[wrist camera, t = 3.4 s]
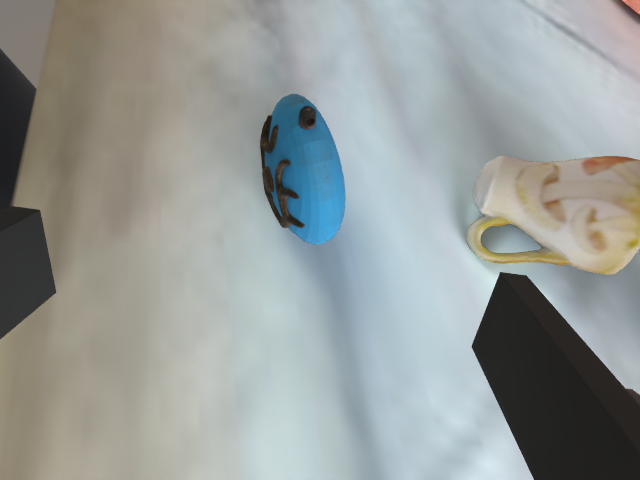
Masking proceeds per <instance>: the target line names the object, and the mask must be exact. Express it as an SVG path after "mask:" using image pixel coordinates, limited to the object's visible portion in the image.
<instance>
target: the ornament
mask: <svg viewBox="0 0 640 480" xmlns="http://www.w3.org/2000/svg"><path fill="white" fill-rule="evenodd" d="M260 149H261V158H262V169H263V173H262V176H263V183H264V190H265V194H266V196H267V199H268V201H269V203H270V206H271V208H272V210H273V212H274V214H275V216H276V218H277V220H278V221H279V223H280V225H281V226H282V227H283V228H289V229H290V230H291V231H292V232H293V233H294V234H296V235H297V236H298V237H300V238H301V239H302V240H304V241H306V242H308V243H311V244H323V243H325V242H326V241H328V240H330V239H331V238H333V237H334V235H335V234H336V233H337V231H338V230H339V228H340V225H341V222H342V219H343V216H344V209H345V186H344V177H343V172H342V167H341V163H340V159H339V155H338V152H337V149H336V145H335V142H334V140H333V137H332V135H331V133H330V131H329V128H328V126H327V124H326V123H325V121H324V119H323V117H322V116H321V114H320V112H319V111H318V110H317V109H316V107H315V106H314V105H313V104H312V103H311V102H310V101H309V100H307V99H306V98H305V97H303V96H300V95H298V94H291V95H288V96H286V97H284V98H282V99H281V100H280V101H279V102H278V103H277V105H276V107H275V109H274V111H273V113H272V115H271V116H268V117H267V120H266V121H265V123H264V126H263V129H262V133H261V139H260Z"/></svg>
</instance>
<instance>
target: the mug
mask: <svg viewBox="0 0 640 480" xmlns="http://www.w3.org/2000/svg"><path fill="white" fill-rule="evenodd" d="M473 200H474V203H475V205H476V206H477V208H478V210H479V211H480V212H481V213H482V214H483V215H484V216H483V217H482V218H480V219H479V220H477V221H475V222H474V223H472V224H471V226H470V227H469V229H468V231H467V235H466V239H467V243H468V245H469V247H470V249H471V250H472V251H473V252H474V253H475V254H476V255H477V256H479V257H481V258H482V259H484V260H487V261H491V262H494V263H518V262H544V263H552V264H556V265H567V264H569V265H571V266H573V267H576V268H578V269H581V270H585V271H589V272H593V273H599V274H605V275H612V274H615V273H617V272H619V271H620V270H621V269H623V268H624V267H625V266H626V265H627V264H628V263H629V262H630V261H631V259H632V258H633V257H634V255H635V254H636V252H637V251H638V249H639V248H640V160H637V159H633V158H628V157H619V156H603V157H591V158H582V159H574V160H566V161H556V162H532V161H524V160H519V159H515V158H511V157H506V156H499V157H497V158H495V159H492V160H490V161H489V162H487V163H486V164H485V165H484V167H483V168H482V170H481V172H480V173H479V175H478V177H477V179H476V183H475V186H474V190H473ZM507 224H513V225H515V226H516V227H518V228H519V229H521V230H522V231H524V232H525V233H526V234H528V235H529V236H530V237H531V238H533V239H534V240H535V241H536V242H538V243H539V244H540V245H541V246H542V248H541V249H540V250H535V251H527V252H520V253H493V252H490V251H489V250H487V249H486V248H485V247H484V246H483V245H482V243H481V235H482V233H483V231H484V230H485V229H486V228H488V227H490V226H503V225H507Z"/></svg>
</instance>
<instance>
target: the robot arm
mask: <svg viewBox="0 0 640 480" xmlns="http://www.w3.org/2000/svg"><path fill="white" fill-rule="evenodd" d="M55 293H56V289H55V284H54V279H53V274H52V269H51V264H50V258H49V253H48V248H47V243H46V238H45V233H44V228H43V223H42V218H41V213H40V210H36V209H28V208H21V207H14V206H12V207H10V208H8V209H5V210H3V211H1V212H0V339H1V338H2V337H4V336H5V335H6V334H7V333H8V332H10V331H11V330H12V329H13V328H14V327H16V326H17V325H18V324H19V323H20V322H22V321H23V320H24V319H25V318H26V317H27V316H29V315H30V314H31V313H32V312H33V311H35V310H36V309H37V308H38V307H39V306H41V305H42V304H43V303H44V302H45V301H47V300H48V299H49V298H50V297H51V296H53V295H54V294H55ZM472 349H473V351H474V353H475V355H476V357H477V359H478V361H479V363H480V366H481V368H482V370H483V372H484V374H485V376H486V378H487V380H488V383H489V385H490V387H491V389H492V391H493V393H494V395H495V397H496V400H497V402H498V404H499V406H500V408H501V410H502V412H503V414H504V417H505V419H506V421H507V423H508V425H509V427H510V429H511V432H512V434H513V436H514V438H515V440H516V442H517V444H518V446H519V449H520V451H521V453H522V455H523V457H524V459H525V461H526V463H527V466H528V468H529V470H530V472H531V474H532V476H533V478H534V480H640V395H639V394H637V393H636V392H635V391H634V390H632V389H625V388H624V387H623V385H622V384H621V383H620V382H619V381H618V380H617V379H616V377H615V376H614V375H613V374H612V373H611V372H610V371H609V369H608V368H607V367H606V366H605V365H604V364H603V363H602V361H601V360H600V359H599V358H598V357H597V356H596V355H595V353H594V352H593V351H592V350H591V349H590V348H589V347H588V345H587V344H586V343H585V342H584V341H583V340H582V339H581V337H580V336H579V335H578V334H577V333H576V332H575V331H574V329H573V328H572V327H571V326H570V325H569V324H568V323H567V321H566V320H565V319H564V318H563V317H562V316H561V315H560V313H559V312H558V311H557V310H556V309H555V308H554V307H553V305H552V304H551V303H550V302H549V301H548V300H547V299H546V297H545V296H544V295H543V294H542V293H541V292H540V291H539V289H538V288H537V287H536V286H535V285H534V284H533V283H532V281H531V280H530V279H529V278H528V277H527V276H526V275H518V274H511V273H503V272H500V274H499V277H498V279H497V282H496V285H495V287H494V290H493V292H492V295H491V298H490V300H489V303H488V305H487V308H486V310H485V313H484V316H483V318H482V321H481V323H480V326H479V329H478V331H477V334H476V336H475V339H474V341H473V344H472Z"/></svg>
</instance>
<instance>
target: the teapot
mask: <svg viewBox="0 0 640 480" xmlns="http://www.w3.org/2000/svg"><path fill="white" fill-rule="evenodd" d="M622 1H623V2H625V3H626V4H627V5H628V6H629V7H631V8H632V9H633V10H634V11H636V12H637V13H638V14H639V15H640V0H622Z"/></svg>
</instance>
